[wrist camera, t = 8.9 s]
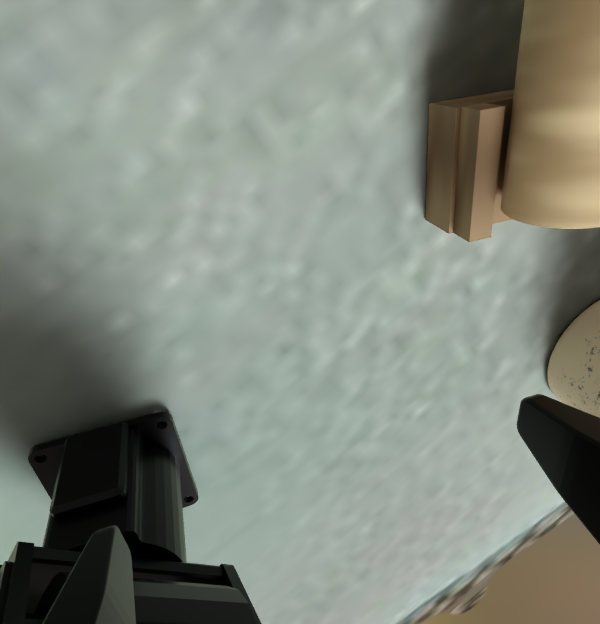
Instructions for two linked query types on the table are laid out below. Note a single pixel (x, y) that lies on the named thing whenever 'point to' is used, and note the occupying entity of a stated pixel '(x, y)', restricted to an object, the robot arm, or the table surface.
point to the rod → (556, 118)
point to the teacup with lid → (578, 363)
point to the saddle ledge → (467, 163)
